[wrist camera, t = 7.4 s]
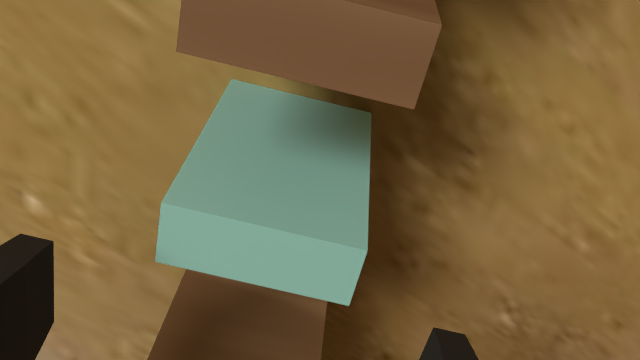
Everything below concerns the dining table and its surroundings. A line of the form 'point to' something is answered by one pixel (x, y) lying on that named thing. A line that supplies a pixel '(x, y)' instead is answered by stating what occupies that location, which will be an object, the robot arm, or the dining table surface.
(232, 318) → the walnut domino
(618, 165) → the dining table surface
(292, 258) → the teal domino
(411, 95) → the walnut domino
